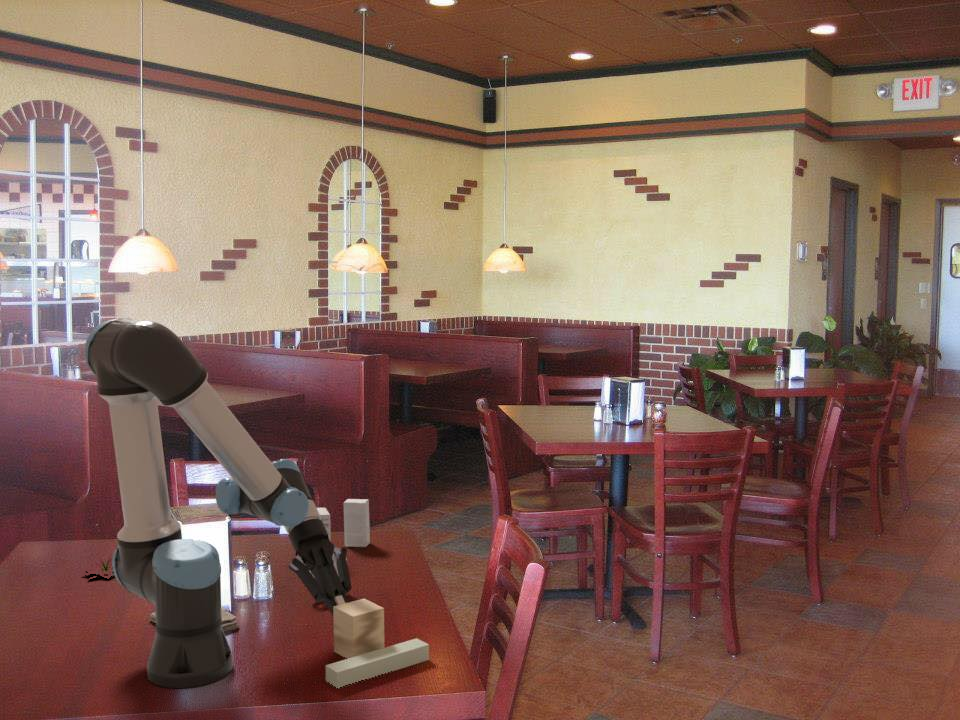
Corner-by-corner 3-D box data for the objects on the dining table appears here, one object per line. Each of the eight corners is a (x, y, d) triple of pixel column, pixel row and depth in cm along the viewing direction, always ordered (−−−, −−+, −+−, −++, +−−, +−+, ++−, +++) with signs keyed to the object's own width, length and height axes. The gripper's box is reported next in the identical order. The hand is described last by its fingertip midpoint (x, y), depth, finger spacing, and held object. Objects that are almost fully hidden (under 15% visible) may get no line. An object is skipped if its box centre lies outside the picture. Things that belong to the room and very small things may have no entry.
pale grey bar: (337, 688, 174) (336, 672, 174) (325, 681, 177) (325, 665, 177) (428, 659, 187) (428, 644, 186) (416, 653, 190) (416, 638, 190)
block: (353, 662, 185) (352, 616, 184) (334, 651, 191) (333, 606, 190) (384, 653, 190) (383, 608, 189) (364, 642, 195) (364, 598, 194)
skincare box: (370, 543, 263) (369, 499, 262) (366, 547, 259) (365, 503, 258) (348, 542, 264) (347, 498, 263) (343, 546, 260) (343, 502, 258)
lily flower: (80, 586, 230) (79, 567, 229) (77, 572, 241) (77, 553, 240) (134, 579, 235) (134, 560, 234) (129, 565, 246) (129, 547, 245)
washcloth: (192, 646, 195) (191, 631, 194) (146, 623, 207) (145, 609, 207) (243, 629, 203) (243, 615, 203) (196, 608, 216) (196, 595, 215)
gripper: (325, 530, 211) (369, 629, 200) (270, 542, 203) (313, 645, 192) (338, 512, 207) (383, 611, 196) (282, 522, 198) (326, 627, 188)
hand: (348, 628), depth 194 cm, fingers closed
